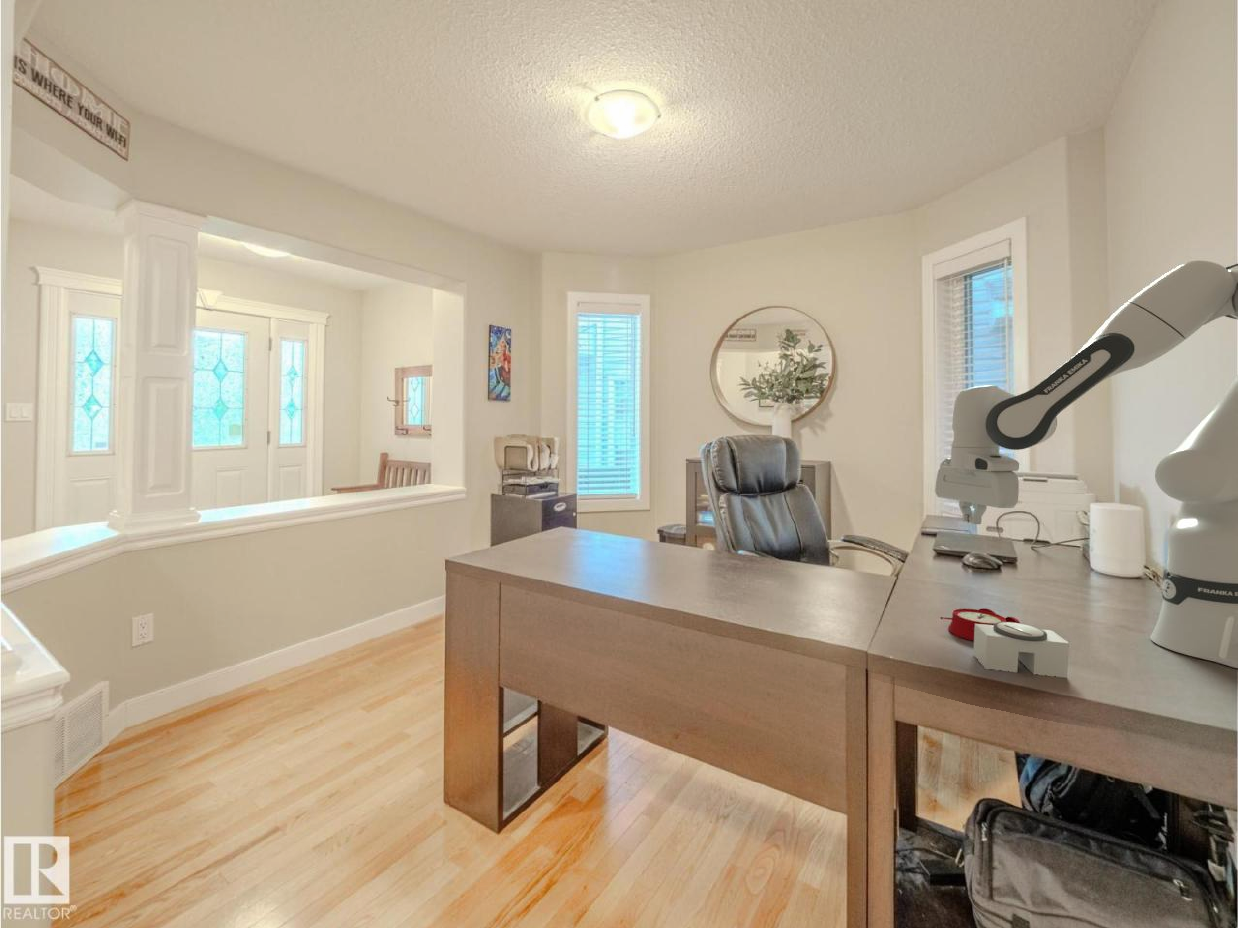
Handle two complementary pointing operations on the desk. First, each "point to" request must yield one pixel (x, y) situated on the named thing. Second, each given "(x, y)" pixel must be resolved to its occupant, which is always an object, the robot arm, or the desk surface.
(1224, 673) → the desk surface
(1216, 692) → the desk surface
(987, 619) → the alarm clock
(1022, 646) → the dial gauge
